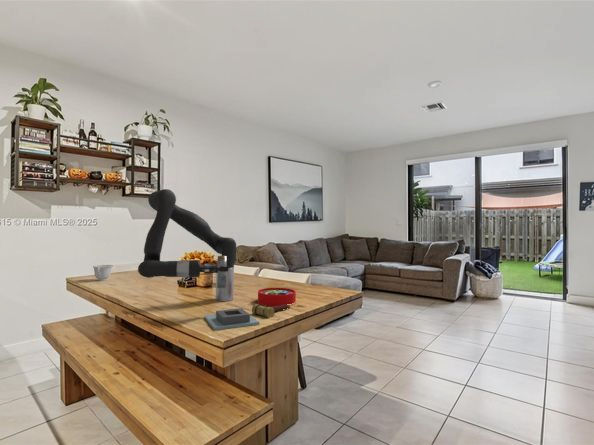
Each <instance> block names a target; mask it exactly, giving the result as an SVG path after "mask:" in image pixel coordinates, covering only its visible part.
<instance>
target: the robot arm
mask: <svg viewBox="0 0 594 445" xmlns="http://www.w3.org/2000/svg"><path fill="white" fill-rule="evenodd" d="M147 199H148V201H147V202H148V204H149V206H150V207H151V209H153V210H154V211H155V212H156V214H155V218H154V221H153V222H152V225H151V227H150V228H149V229H148V232H147V234H146V237H145V243H144V248H143V254H144V257H143V261H142V262H141V263H140V264H138V266H137V267H138V268H137V271H138V274H139V276H141V277H144V278H148V279H151V278H154V277H165V278H166V277H167V278H199V277H200V276H201V273H203V274H215V275H216V276H215V277H216V278H215V285H216V286H215V301H219V302H228V301H229V302H230V301H233V300H234V287H235V286H234V285H235V284H234V283H235V282H234V281H235V280H234V279H235V275H234V273H235V264H236V258H237V243H236V240H235V239H234V238H233V237H223V236H221V235H219V234H217V233H216V232H214V231H213V230H212V228H211V226H210V225H209V223H208V222H207V221H206V220H205V219H204V218H202V217H201V216H199V215H198V214H197V213H195V212H193V211H190V210H188V209H185V208H182V207H180V206H178V205H177V204H176V202H177V197H176V195H175V192H173V191H172V190H171V189H167V188H165V189H160V190H156V191H153V192H152V193H150V194H149V195H148V198H147ZM170 219H171V221H173V222H175V223H176V224H177V225H179V226H180V227H182V228H183V229H185V231H187V232H188V233H190V234H191V235H193V236H195V237H196V238H198V239H199V240H200V241H202V242H204V243H206V244H207V245H208V246H209V247H210V248H211V249H212V250H213V251H215V253H217V254H220V255H221V256H227V266H218V261H217V262H216V263H204V264H201V260H199V259H182V260H167V261H166V260H165V261H164V260H161V253H162V249H163V245H164V238H165V235H166V232H167V229H168V226H169V221H170ZM218 272H226V288H217V273H218Z"/></svg>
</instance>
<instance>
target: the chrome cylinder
mask: <svg viewBox="0 0 594 445" xmlns="http://www.w3.org/2000/svg"><path fill="white" fill-rule="evenodd" d="M217 262H218V266H227V256H222V255H217ZM217 288H226V272H218V273H217Z"/></svg>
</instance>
